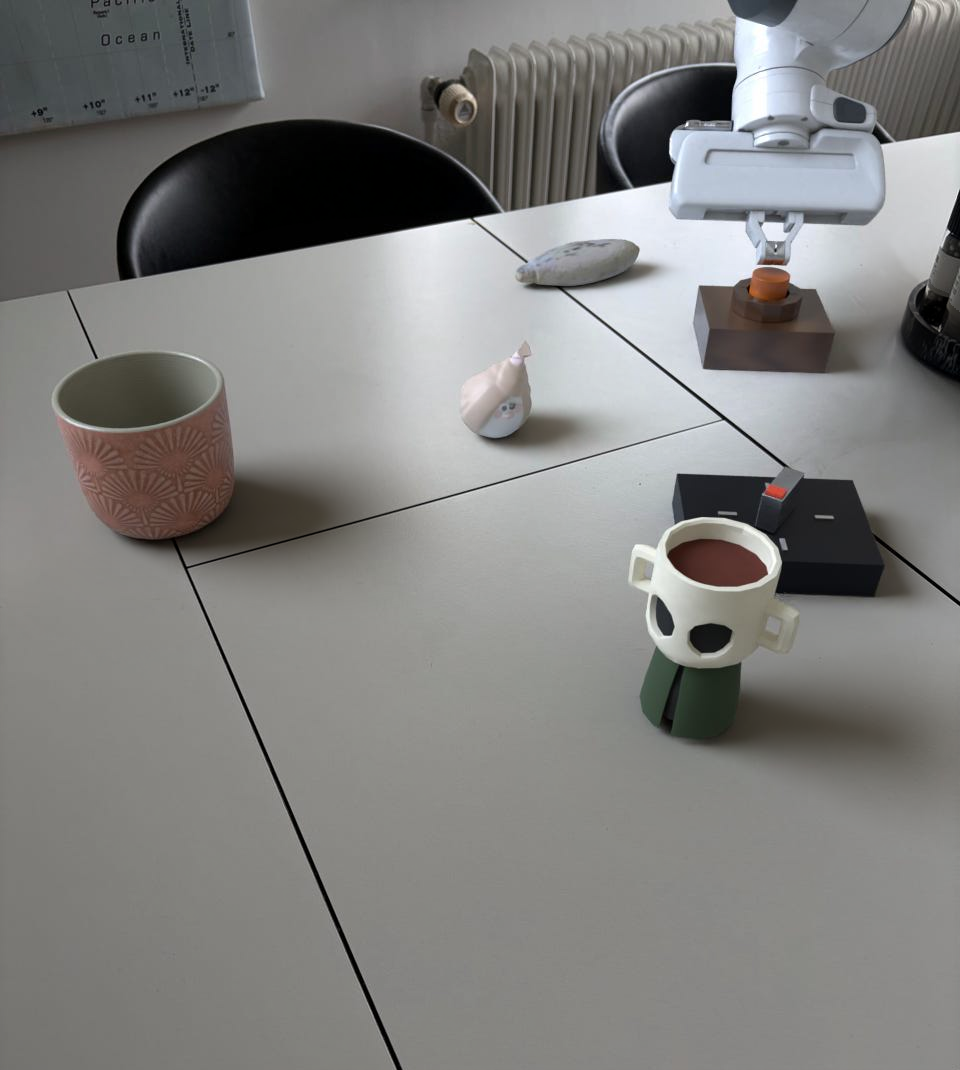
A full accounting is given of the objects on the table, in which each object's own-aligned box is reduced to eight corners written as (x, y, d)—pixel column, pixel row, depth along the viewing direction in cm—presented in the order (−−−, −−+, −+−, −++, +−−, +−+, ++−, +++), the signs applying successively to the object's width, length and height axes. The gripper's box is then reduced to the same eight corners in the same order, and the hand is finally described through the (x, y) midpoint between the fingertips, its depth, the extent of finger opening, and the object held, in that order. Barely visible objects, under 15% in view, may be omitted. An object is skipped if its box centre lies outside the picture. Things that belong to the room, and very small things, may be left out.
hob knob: (776, 498, 81) (785, 463, 79) (796, 505, 80) (805, 469, 78) (754, 527, 78) (762, 491, 76) (774, 534, 77) (783, 498, 75)
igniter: (806, 327, 110) (820, 271, 106) (825, 373, 102) (840, 315, 98) (692, 323, 110) (701, 267, 106) (702, 368, 103) (712, 311, 99)
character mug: (587, 704, 68) (605, 546, 60) (642, 646, 73) (666, 491, 64) (737, 782, 64) (781, 623, 55) (786, 715, 68) (834, 557, 59)
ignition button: (782, 287, 104) (787, 267, 102) (788, 303, 101) (793, 282, 100) (746, 286, 104) (750, 266, 102) (751, 301, 101) (755, 281, 100)
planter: (276, 498, 85) (258, 377, 78) (163, 576, 78) (131, 450, 70) (170, 451, 90) (144, 333, 83) (54, 519, 83) (14, 396, 75)
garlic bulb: (532, 450, 91) (536, 366, 86) (459, 449, 91) (459, 366, 86) (528, 411, 96) (532, 330, 91) (459, 411, 96) (459, 329, 91)
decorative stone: (504, 278, 118) (505, 248, 116) (621, 255, 123) (623, 226, 121) (529, 299, 114) (531, 269, 112) (649, 275, 119) (652, 245, 117)
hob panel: (843, 510, 85) (853, 478, 83) (874, 597, 77) (886, 563, 75) (671, 504, 85) (677, 471, 83) (684, 589, 77) (690, 555, 75)
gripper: (675, 101, 98) (669, 245, 97) (894, 108, 97) (890, 253, 97) (665, 137, 104) (660, 272, 104) (870, 143, 104) (866, 279, 103)
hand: (772, 263), depth 100 cm, fingers closed
